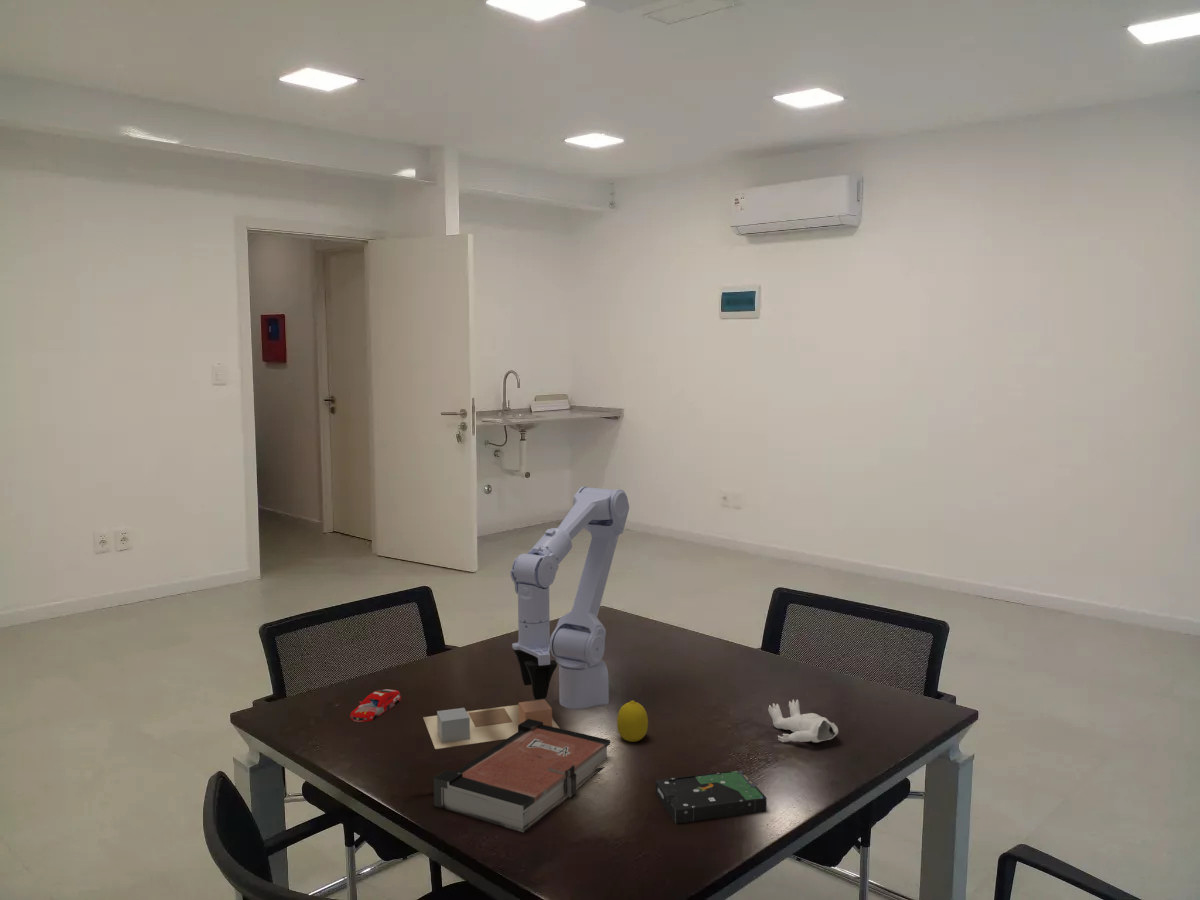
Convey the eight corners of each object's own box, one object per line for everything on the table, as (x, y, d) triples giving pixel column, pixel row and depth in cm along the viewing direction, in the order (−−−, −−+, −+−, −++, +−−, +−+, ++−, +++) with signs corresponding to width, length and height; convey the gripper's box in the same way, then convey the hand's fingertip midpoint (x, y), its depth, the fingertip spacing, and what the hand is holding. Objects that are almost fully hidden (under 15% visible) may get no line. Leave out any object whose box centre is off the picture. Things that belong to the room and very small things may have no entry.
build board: (540, 706, 182) (540, 701, 181) (561, 736, 167) (561, 730, 167) (423, 722, 174) (423, 716, 174) (435, 754, 160) (435, 748, 160)
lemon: (651, 739, 166) (651, 697, 165) (642, 752, 160) (642, 708, 160) (622, 735, 167) (622, 693, 167) (613, 748, 162) (612, 704, 161)
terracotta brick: (544, 719, 173) (544, 699, 172) (552, 729, 168) (551, 708, 167) (519, 723, 171) (518, 702, 170) (525, 733, 166) (525, 712, 166)
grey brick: (464, 728, 169) (464, 707, 168) (470, 739, 164) (469, 717, 164) (437, 732, 167) (437, 711, 167) (442, 743, 162) (441, 721, 162)
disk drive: (675, 828, 136) (768, 814, 139) (675, 810, 135) (768, 796, 139) (654, 796, 146) (740, 783, 149) (654, 779, 145) (740, 767, 149)
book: (527, 836, 133) (527, 804, 133) (434, 808, 142) (433, 777, 141) (614, 766, 156) (613, 738, 156) (528, 745, 165) (528, 718, 164)
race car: (369, 730, 172) (368, 709, 171) (344, 726, 173) (343, 706, 173) (406, 704, 184) (406, 685, 183) (383, 701, 186) (382, 682, 185)
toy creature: (807, 695, 175) (849, 702, 164) (811, 728, 175) (853, 736, 164) (755, 706, 170) (794, 713, 159) (759, 739, 169) (799, 749, 159)
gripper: (503, 611, 173) (504, 680, 174) (522, 632, 159) (523, 708, 161) (539, 607, 175) (540, 676, 176) (561, 628, 161) (561, 703, 163)
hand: (534, 691), depth 169 cm, fingers open, 7 cm apart
